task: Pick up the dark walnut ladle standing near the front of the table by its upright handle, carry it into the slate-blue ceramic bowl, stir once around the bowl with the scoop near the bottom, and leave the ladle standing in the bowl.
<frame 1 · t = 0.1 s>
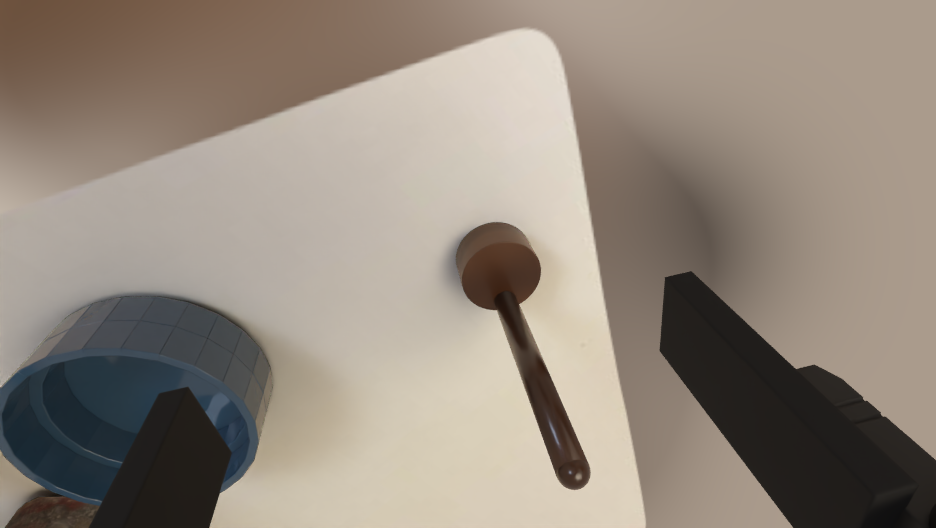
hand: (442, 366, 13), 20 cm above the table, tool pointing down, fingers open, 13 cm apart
ladle: (493, 256, 36), on the table
brown cylinder: (73, 507, 42), on the table
mixing bowl: (167, 374, 37), on the table
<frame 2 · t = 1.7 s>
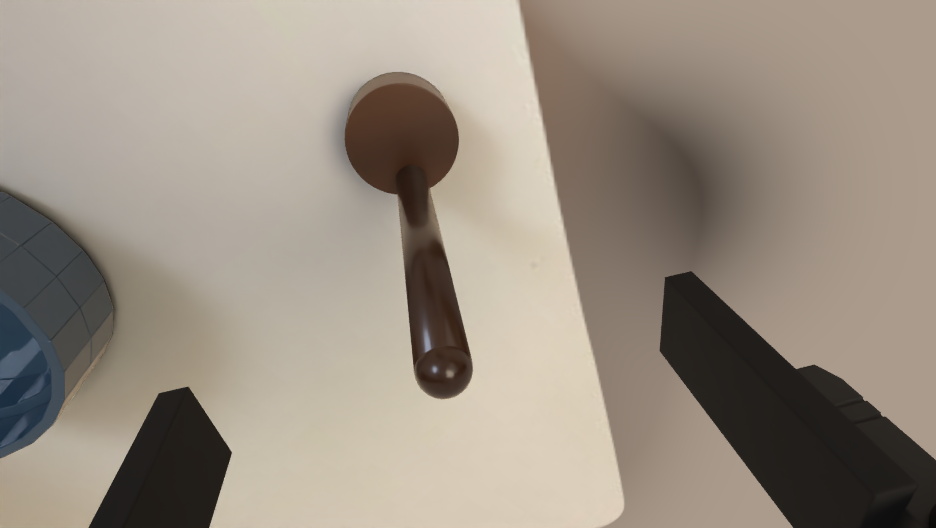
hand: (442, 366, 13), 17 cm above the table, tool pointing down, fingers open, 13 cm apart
ladle: (400, 126, 26), on the table
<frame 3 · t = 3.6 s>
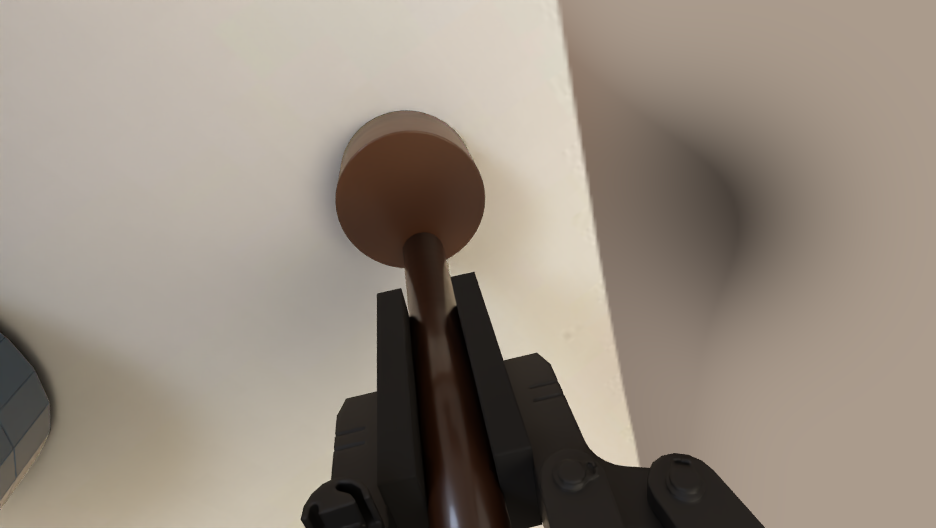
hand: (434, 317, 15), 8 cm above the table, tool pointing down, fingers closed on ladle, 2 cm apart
ladle: (407, 177, 21), on the table, touching gripper
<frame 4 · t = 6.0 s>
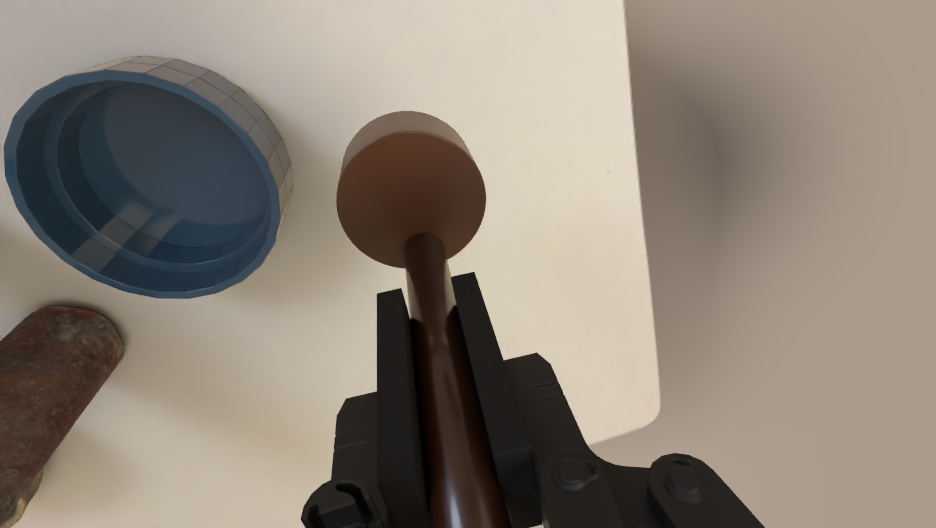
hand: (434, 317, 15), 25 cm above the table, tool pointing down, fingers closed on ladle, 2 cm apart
ladle: (408, 177, 21), point 17 cm above the table, touching gripper
brown cylinder: (81, 330, 41), on the table
mixing bowl: (184, 167, 35), on the table
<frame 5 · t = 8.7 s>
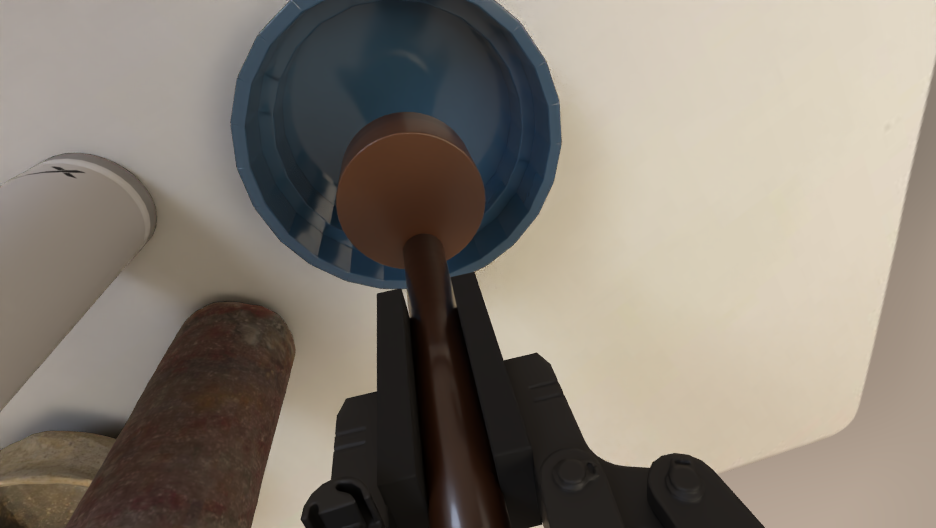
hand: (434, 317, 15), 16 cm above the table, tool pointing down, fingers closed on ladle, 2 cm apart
ladle: (408, 178, 21), point 9 cm above the table, touching gripper
travel mug: (95, 201, 28), on the table
bowl: (84, 465, 38), on the table
brown cylinder: (243, 331, 34), on the table
mixing bowl: (400, 122, 28), on the table
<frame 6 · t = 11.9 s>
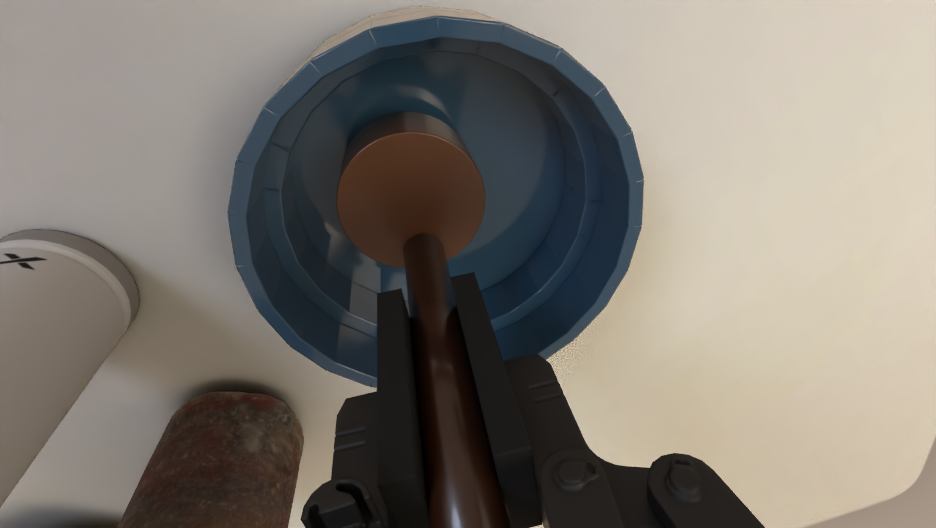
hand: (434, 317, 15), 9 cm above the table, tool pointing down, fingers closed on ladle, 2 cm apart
ladle: (408, 177, 21), point 2 cm above the table, touching gripper
travel mug: (64, 282, 23), on the table
brown cylinder: (242, 417, 29), on the table
mixing bowl: (433, 185, 23), on the table
when the fingers open (8 cm above the table, at t = 14.1 s): ladle stays where it is, resting on mixing bowl.
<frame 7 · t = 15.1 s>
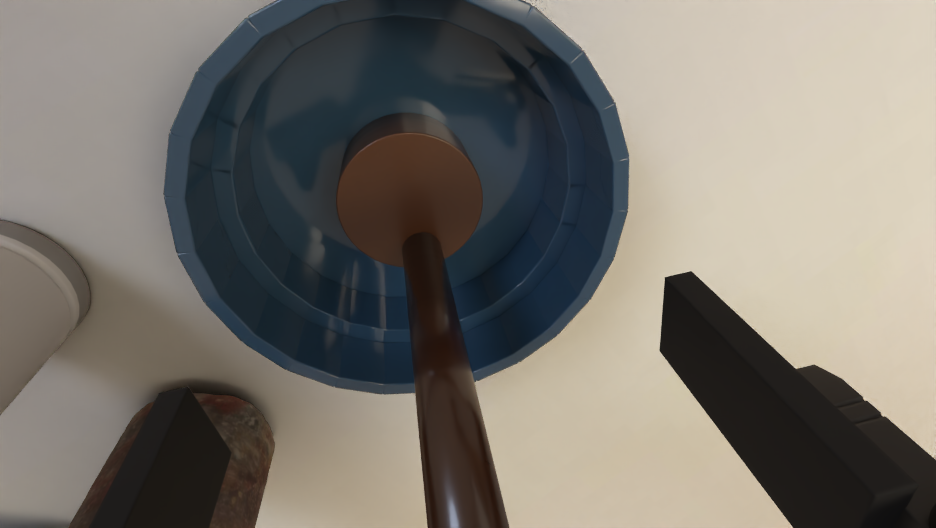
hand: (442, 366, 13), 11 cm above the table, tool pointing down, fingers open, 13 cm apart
ladle: (407, 177, 21), point 1 cm above the table, touching mixing bowl
travel mug: (8, 275, 21), on the table
brown cylinder: (209, 420, 27), on the table
mixing bowl: (406, 170, 21), on the table
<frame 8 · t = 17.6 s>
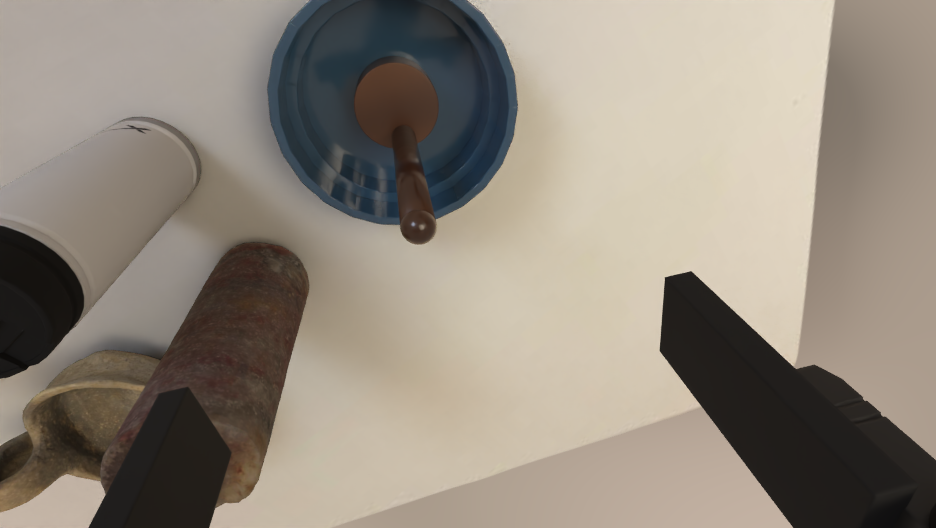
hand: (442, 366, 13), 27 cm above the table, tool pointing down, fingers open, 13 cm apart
ladle: (395, 98, 35), point 1 cm above the table, touching mixing bowl
travel mug: (153, 157, 35), on the table
bowl: (130, 389, 45), on the table
brown cylinder: (265, 271, 41), on the table
mixing bowl: (395, 94, 35), on the table
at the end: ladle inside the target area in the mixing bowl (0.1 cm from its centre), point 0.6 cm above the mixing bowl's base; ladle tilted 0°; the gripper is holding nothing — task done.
